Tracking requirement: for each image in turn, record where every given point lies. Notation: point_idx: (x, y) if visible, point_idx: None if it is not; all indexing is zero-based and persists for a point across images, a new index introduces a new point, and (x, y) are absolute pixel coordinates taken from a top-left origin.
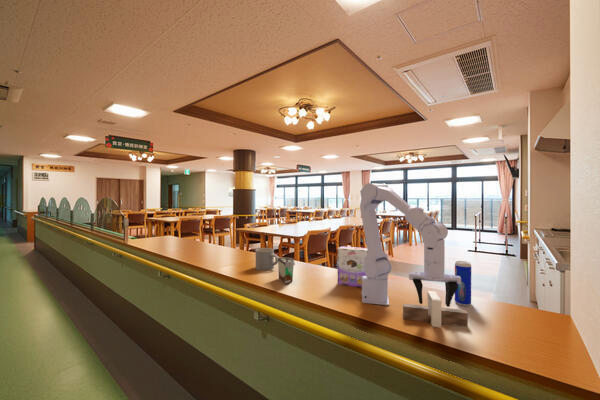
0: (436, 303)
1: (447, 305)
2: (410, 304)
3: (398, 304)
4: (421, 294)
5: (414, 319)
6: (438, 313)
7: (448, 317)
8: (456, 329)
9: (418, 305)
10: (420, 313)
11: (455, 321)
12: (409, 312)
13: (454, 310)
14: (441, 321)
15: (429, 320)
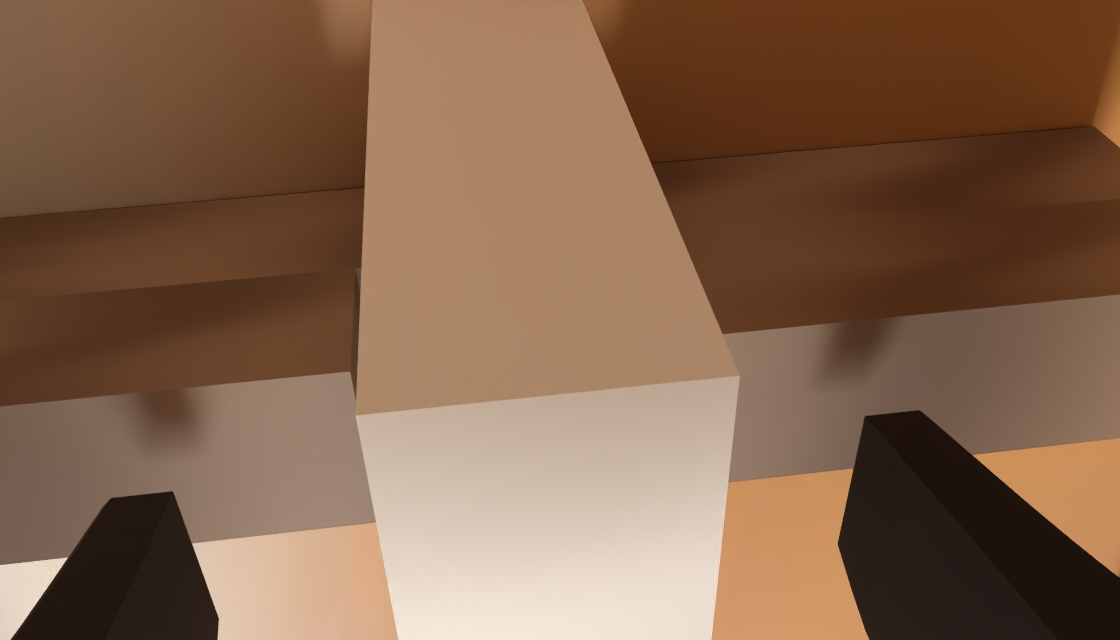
0: (552, 304)
1: (157, 514)
2: (1042, 440)
3: None
4: (1079, 631)
5: (891, 152)
6: (451, 123)
7: (186, 289)
8: (33, 7)
9: None
10: (822, 243)
11: (43, 255)
12: (1061, 217)
13: (8, 485)
14: (350, 210)
15: None
